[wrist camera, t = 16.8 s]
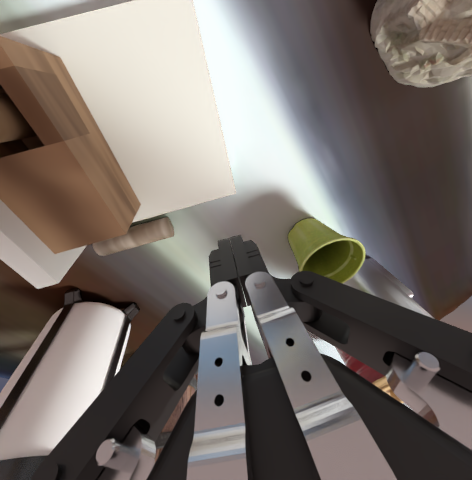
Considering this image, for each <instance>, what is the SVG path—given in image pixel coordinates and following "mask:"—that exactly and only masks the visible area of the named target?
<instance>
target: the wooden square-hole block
mask: <svg viewBox="0 0 472 480" xmlns="http://www.w3.org/2000/svg"><path fill="white" fill-rule="evenodd" d="M0 94H6V95H8V96H9V97H10V98H11V100H12V101H13V102H14V104H15V105H16V107H17V108H18V109H19V111H20V112H21V114H22V115H23V116H24V118H25V119H26V120H27V122H28V123H29V125H30V126H31V127H32V129H33V130H34V131H35V133H36V134H37V136H36V137H30V138H25V139H19V140H13V141H7V142H2V143H0V200H1V201H2V202H3V203H4V204H5V205H6V206H7V207H8V208H9V209H10V210H11V211H12V212H13V213H14V214H15V215H16V216H17V217H18V218H19V219H20V220H21V221H22V222H23V223H24V224H25V225H26V226H27V227H28V228H29V229H30V230H31V231H32V232H33V233H34V234H35V235H36V236H37V237H38V238H39V239H40V240H41V241H42V242H43V243H44V244H45V245H46V246H47V247H48V248H49V249H50V250H51V251H52V252H53V253H54V254H57V253H61V252H64V251H68V250H72V249H75V248H79V247H82V246H86V245H89V244H93V243H96V242H100V241H104V240H107V239H111V238H114V237H118V236H121V235H125V234H126V233H127V231H128V229H129V227H130V225H131V223H132V221H133V219H134V217H135V215H136V213H137V212H138V210H139V208H140V206H141V204H140V202H139V200H138V198H137V196H136V194H135V193H134V191H133V189H132V187H131V185H130V183H129V182H128V180H127V178H126V176H125V174H124V173H123V171H122V169H121V167H120V165H119V163H118V162H117V160H116V158H115V156H114V154H113V152H112V151H111V149H110V147H109V145H108V143H107V141H106V140H105V138H104V136H103V134H102V132H101V131H100V129H99V127H98V125H97V123H96V121H95V120H94V118H93V116H92V114H91V112H90V110H89V109H88V107H87V105H86V103H85V101H84V100H83V98H82V96H81V94H80V92H79V90H78V89H77V87H76V85H75V83H74V81H73V79H72V78H71V76H70V74H69V72H68V70H67V68H66V67H65V65H64V63H63V61H62V59H61V58H60V57H59V56H56V55H53V54H50V53H47V52H44V51H42V50H39V49H36V48H33V47H30V46H28V45H25V44H22V43H19V42H16V41H13V40H11V39H8V38H5V37H2V36H0Z"/></svg>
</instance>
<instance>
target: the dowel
mask: <svg viewBox="0 0 472 480" xmlns="http://www.w3.org/2000/svg"><path fill="white" fill-rule="evenodd" d="M36 136H37V134H36V133H35V131H34V130H33V129H32V127H31V126H30V125H29V123H28V122H27V120H26V119H25V118H24V116H23V115H22V114H21V112H20V111H19V109H18V108H17V107H16V105H15V104H14V102H13V101H12V100H11V98H10V97H9V96H8V95H6V94H0V143H2V142H7V141H13V140H19V139H25V138H30V137H36Z"/></svg>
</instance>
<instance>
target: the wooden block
mask: <svg viewBox="0 0 472 480" xmlns="http://www.w3.org/2000/svg"><path fill="white" fill-rule="evenodd" d="M172 236H174V228H173V226H172V223H171V221H170V219H169V218H168V217H165V218H161V219H158V220H154V221H150V222H147V223H143V224H140V225H136V226H133V227H129V229H128V231H127V233H126V234H125V235H121V236H118V237H114V238H111V239H107V240H104V241H100V242H96V243H93V248H94V250H95V252H96V253H97V254H98V255H100V256H105V255H108V254H112V253H116V252H119V251H123V250H126V249H130V248H133V247H137V246H140V245H144V244H148V243H151V242H155V241H158V240H162V239H165V238H169V237H172Z"/></svg>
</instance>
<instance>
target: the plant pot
mask: <svg viewBox="0 0 472 480" xmlns="http://www.w3.org/2000/svg"><path fill="white" fill-rule="evenodd" d="M288 241H289V244H290V246H291V249H292V251H293V253H294V256H295V258H296V261H297V263H298V267H299V272H300V271H311V272H314V273H316V274H319V275H322V276H324V277H327V278H330V279H332V280H335V281H337V282H340V283H345V282H346V281H348V280H349V279H350V278H352V277H353V276H354V275H355V274H356V273H357V272H358V270H359V269H360V268H361V266H362V264H363V262H364V260H365V248H364V246H363V245H362V243H361V242H359V241H358V240H356V239H353V238H349V237H346V236H343V235H340V234H338V233H337V232H335V231H334V230H332V229H331V228H329V227H327V226H326V225H324V224H323V223H321V222H320V221H318V220H316V219H312V218H308V219H304V220H301V221H299V222H298V223H296V224H295V226H294V227H293V228H292V230H291V231H290V232H289V234H288Z"/></svg>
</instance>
